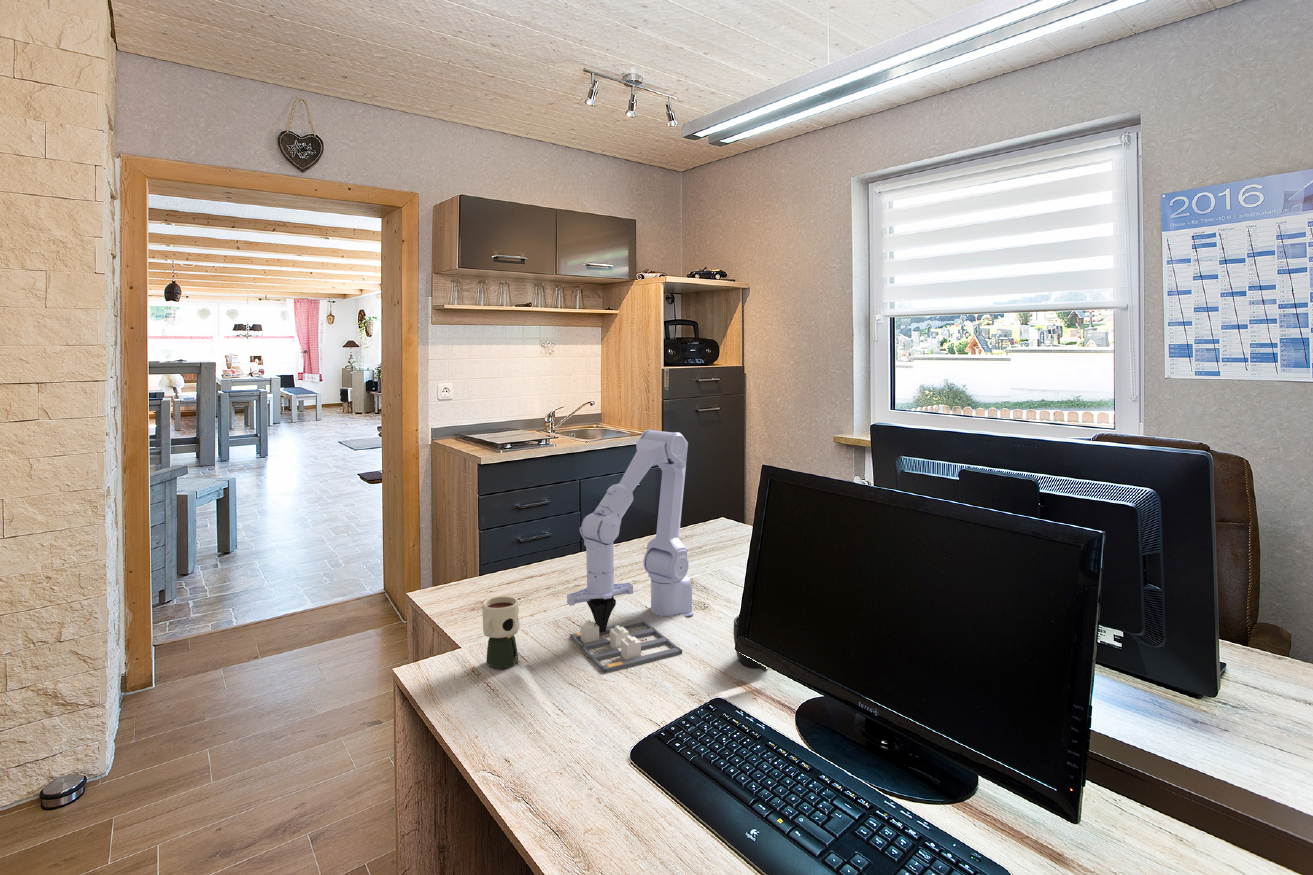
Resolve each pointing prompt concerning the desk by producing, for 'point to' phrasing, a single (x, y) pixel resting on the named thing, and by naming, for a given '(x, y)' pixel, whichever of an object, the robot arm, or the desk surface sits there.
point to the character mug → (501, 630)
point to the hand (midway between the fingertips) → (601, 630)
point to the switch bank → (617, 652)
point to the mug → (743, 659)
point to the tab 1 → (589, 631)
